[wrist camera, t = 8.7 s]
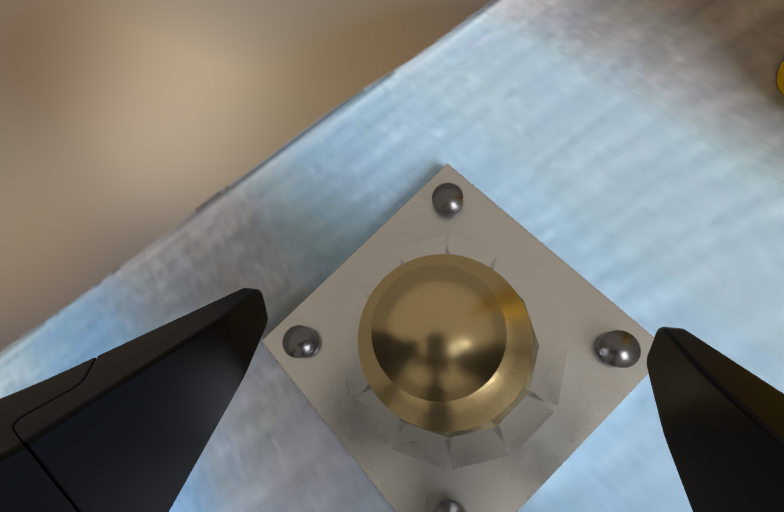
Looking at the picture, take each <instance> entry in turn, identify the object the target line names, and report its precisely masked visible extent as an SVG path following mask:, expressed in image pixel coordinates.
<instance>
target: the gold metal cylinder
mask: <svg viewBox="0 0 784 512" xmlns="http://www.w3.org/2000/svg"><path fill="white" fill-rule="evenodd" d="M358 352H359V358H360V363H361V366H362V370H363V373H364V375H365V377H366V379H367V382H368V384H369V385H370V387H371V389H372V390H373V392H374V393H375V395H376V396H377V397H378V398H379V400H380V401H381V402H382V403H383V404H384V405H385V406H386V407H387V408H388V409H389V410H390V411H392V412H393V413H394V414H396V415H397V416H398V417H400V418H401V419H403V420H405V421H407V422H409V423H411V424H413V425H416V426H418V427H421V428H425V429H429V430H433V431H442V432H451V431H461V430H467V429H471V428H474V427H477V426H480V425H482V424H484V423H486V422H488V421H490V420H492V419H493V418H495V417H496V416H497V415H499V414H500V413H502V412H503V411H504V410H505V409H506V408H507V407H508V406H509V405H510V404H511V403H512V402H513V400H514V399H515V398H516V397H517V395H518V394H519V392H520V390H521V389H522V387H523V385H524V383H525V381H526V378H527V376H528V374H529V370H530V366H531V362H532V354H533V335H532V329H531V324H530V320H529V317H528V314H527V311H526V309H525V307H524V304H523V303H522V301H521V299H520V297H519V296H518V294H517V293H516V291H515V290H514V289H513V288H512V286H511V285H510V284H509V283H508V282H507V281H506V280H505V279H504V278H503V277H502V276H501V275H500V274H498V273H497V272H496V271H494V270H493V269H492V268H490V267H488V266H486V265H485V264H483V263H481V262H478V261H476V260H474V259H471V258H467V257H464V256H459V255H452V254H435V255H427V256H423V257H419V258H416V259H413V260H410V261H408V262H406V263H404V264H402V265H400V266H399V267H397V268H396V269H394V270H393V271H391V272H390V273H389V274H388V275H387V276H386V277H384V278H383V279H382V280H381V282H380V283H379V284H378V285H377V286H376V287H375V289H374V290H373V292H372V293H371V295H370V296H369V298H368V300H367V302H366V304H365V306H364V309H363V312H362V315H361V319H360V323H359V329H358Z"/></svg>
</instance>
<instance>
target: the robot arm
mask: <svg viewBox="0 0 784 512" xmlns="http://www.w3.org/2000/svg"><path fill="white" fill-rule="evenodd" d="M267 319H268V316H267V311H266V307H265V303H264V299H263V295H262V292H261V291H260V290H258V289H251V288H243V289H241V290H238V291H236V292H234V293H232V294H230V295H228V296H226V297H223V298H221V299H219V300H217V301H215V302H213V303H211V304H208V305H206V306H204V307H202V308H200V309H198V310H196V311H193V312H191V313H189V314H187V315H185V316H183V317H181V318H178V319H176V320H174V321H172V322H170V323H168V324H166V325H163V326H161V327H159V328H157V329H155V330H153V331H151V332H148V333H146V334H144V335H142V336H140V337H138V338H136V339H133V340H131V341H129V342H127V343H125V344H123V345H121V346H118V347H116V348H114V349H112V350H110V351H108V352H106V353H103V354H101V355H99V356H98V357H97V359H96V358H92V359H90V360H88V361H86V362H84V363H82V364H80V365H78V366H75V367H73V368H71V369H69V370H67V371H64V372H62V373H60V374H58V375H55V376H53V377H51V378H49V379H47V380H44V381H42V382H39V383H37V384H35V385H32V386H30V387H28V388H25V389H23V390H21V391H18V392H16V393H13V394H11V395H9V396H6V397H4V398H1V399H0V512H169V510H170V508H171V507H172V505H173V503H174V501H175V500H176V498H177V496H178V494H179V492H180V491H181V489H182V487H183V485H184V483H185V482H186V480H187V478H188V476H189V475H190V473H191V471H192V469H193V467H194V466H195V464H196V462H197V460H198V458H199V457H200V455H201V453H202V451H203V450H204V448H205V446H206V444H207V442H208V441H209V439H210V437H211V435H212V433H213V432H214V430H215V428H216V426H217V425H218V423H219V421H220V419H221V417H222V416H223V414H224V412H225V410H226V408H227V407H228V405H229V403H230V401H231V400H232V398H233V396H234V394H235V392H236V391H237V389H238V387H239V385H240V383H241V381H242V379H243V378H244V376H245V373H246V371H247V369H248V367H249V365H250V362H251V360H252V358H253V355H254V353H255V351H256V348H257V346H258V344H259V341H260V339H261V336H262V334H263V332H264V329H265V327H266V324H267ZM647 369H648V373H649V377H650V381H651V385H652V389H653V393H654V397H655V401H656V405H657V409H658V413H659V417H660V421H661V425H662V428H663V432H664V435H665V438H666V441H667V444H668V447H669V449H670V452H671V455H672V457H673V460H674V463H675V465H676V468H677V471H678V473H679V476H680V479H681V481H682V484H683V486H684V489H685V492H686V494H687V497H688V500H689V502H690V505H691V508H692V510H693V512H784V394H783V393H782V392H780V391H778V390H777V389H775V388H774V387H772V386H771V385H769V384H768V383H766V382H765V381H763V380H762V379H760V378H759V377H757V376H755V375H754V374H752V373H751V372H749V371H748V370H746V369H745V368H743V367H742V366H740V365H739V364H737V363H735V362H734V361H732V360H731V359H729V358H728V357H726V356H725V355H723V354H722V353H720V352H719V351H717V350H715V349H714V348H712V347H711V346H709V345H708V344H706V343H705V342H703V341H702V340H700V339H699V338H697V337H695V336H694V335H692V334H691V333H689V332H688V331H686V330H684V329H681V328H672V327H661V328H659V329H658V331H657V332H656V335H655V337H654V340H653V342H652V345H651V348H650V350H649V353H648V355H647Z"/></svg>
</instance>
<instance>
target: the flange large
mask: <svg viewBox="0 0 784 512" xmlns="http://www.w3.org/2000/svg"><path fill="white" fill-rule="evenodd" d="M435 254H452V255H459V256H464V257H467V258H471V259H474V260H476V261H478V262H481V263H483V264H485V265H486V266H488V267H490V268H492V269H493V270H494V271H496V272H497V273H498V274H500V275H501V276H502V277H503V278H504V279H505V280H506V281H507V282H508V283H509V284H510V285H511V286H512V288H513V289H514V290H515V291H516V293H517V294H518V296H519V297H520V299H521V301H522V303H523V304H524V307H525V309H526V311H527V314H528V317H529V320H530V324H531V329H532V335H533V354H532V362H531V366H530V370H529V374H528V376H527V378H526V381H525V383H524V385H523V387H522V389H521V390H520V392H519V394H518V395H517V397H516V398H515V399H514V400H513V402H512V403H511V404H510V405H509V406H508V407H507V408H506V409H505V410H504V411H503V412H502V413H500V414H499V415H497V416H496V417H495V418H493V419H492V420H490V421H488V422H486V423H484V424H482V425H480V426H477V427H474V428H471V429H467V430H461V431H451V432H442V431H433V430H429V429H425V428H421V427H418V426H416V425H413V424H411V423H409V422H407V421H405V420H403V419H401V418H400V417H398V416H397V415H396V414H394V413H393V412H392V411H390V410H389V409H388V408H387V407H386V406H385V405H384V404H383V403H382V402H381V401H380V400H379V398H378V397H377V396H376V395H375V393H374V392H373V390H372V389H371V387H370V385H369V384H368V382H367V379H366V377H365V375H364V373H363V370H362V366H361V363H360V358H359V352H358V329H359V323H360V319H361V315H362V312H363V309H364V306H365V304H366V302H367V300H368V298H369V296H370V295H371V293H372V292H373V290H374V289H375V287H376V286H377V285H378V284H379V283H380V282H381V280H382V279H383V278H384V277H386V276H387V275H388V274H389V273H390V272H391V271H393V270H394V269H396V268H397V267H399V266H400V265H402V264H404V263H406V262H408V261H410V260H413V259H416V258H419V257H423V256H427V255H435ZM653 340H654V337H653V336H652V335H651V334H650V333H649V332H647V331H646V330H645V329H644V328H643V327H641V326H640V325H639V324H638V323H637V322H635V321H634V320H633V319H632V318H631V317H630V316H628V315H627V314H626V313H625V312H624V311H622V310H621V309H620V308H619V307H618V306H616V305H615V304H614V303H613V302H612V301H610V300H609V299H608V298H607V297H606V296H605V295H603V294H602V293H601V292H600V291H599V290H597V289H596V288H595V287H594V286H593V285H591V284H590V283H589V282H588V281H587V280H585V279H584V278H583V277H582V276H581V275H580V274H578V273H577V272H576V271H575V270H574V269H572V268H571V267H570V266H569V265H568V264H566V263H565V262H564V261H563V260H562V259H561V258H559V257H558V256H557V255H556V254H555V253H553V252H552V251H551V250H550V249H549V248H547V247H546V246H545V245H544V244H543V243H541V242H540V241H539V240H538V239H537V238H536V237H534V236H533V235H532V234H531V233H530V232H528V231H527V230H526V229H525V228H524V227H522V226H521V225H520V224H519V223H518V222H517V221H515V220H514V219H513V218H512V217H511V216H509V215H508V214H507V213H506V212H505V211H503V210H502V209H501V208H500V207H499V206H497V205H496V204H495V203H494V202H493V201H492V200H490V199H489V198H488V197H487V196H486V195H484V194H483V193H482V192H481V191H480V190H478V189H477V188H476V187H475V186H474V185H473V184H471V183H470V182H469V181H468V180H467V179H465V178H464V177H463V176H462V175H461V174H459V173H458V172H457V171H456V170H455V169H453V168H452V167H451V166H450V165H449V164H448V163H447V164H446V165H445V166H444V167H443V168H442V169H441V170H440V171H439V172H438V173H437V174H436V175H435V176H434V177H433V178H432V179H431V180H430V181H429V182H428V183H427V184H426V185H424V186H423V187H422V188H421V189H420V190H419V191H418V192H417V193H416V194H415V195H414V196H413V197H412V198H411V199H410V200H409V201H408V202H407V203H406V204H405V205H404V206H403V207H401V208H400V209H399V210H398V211H397V212H396V213H395V214H394V215H393V216H392V217H391V218H390V219H389V220H388V221H387V222H386V223H385V224H384V225H383V226H382V227H381V228H380V229H378V230H377V231H376V232H375V233H374V234H373V235H372V236H371V237H370V238H369V239H368V240H367V241H366V242H365V243H364V244H363V245H362V246H361V247H360V248H359V249H358V250H357V251H355V252H354V253H353V254H352V255H351V256H350V257H349V258H348V259H347V260H346V261H345V262H344V263H343V264H342V265H341V266H340V267H339V268H338V269H337V270H336V271H335V272H334V273H332V274H331V275H330V276H329V277H328V278H327V279H326V280H325V281H324V282H323V283H322V284H321V285H320V286H319V287H318V288H317V289H316V290H315V291H314V292H313V293H312V294H311V295H309V296H308V297H307V298H306V299H305V300H304V301H303V302H302V303H301V304H300V305H299V306H298V307H297V308H296V309H295V310H294V311H293V312H292V313H291V314H290V315H289V316H288V317H286V318H285V319H284V320H283V321H282V322H281V323H280V324H279V325H278V326H277V327H276V328H275V329H274V330H273V331H272V332H271V333H270V334H269V335H268V336H267V337H266V338H265V339H264V340H262V342H263V343H264V345H265V346H266V347H267V348H268V350H269V351H270V352H271V353H272V355H273V356H274V357H275V358H276V360H277V361H278V362H279V364H280V365H281V366H282V367H283V369H284V370H285V371H286V372H287V374H288V375H289V376H290V378H291V379H292V380H293V381H294V383H295V384H296V385H297V386H298V388H299V389H300V390H301V392H302V393H303V394H304V395H305V397H306V398H307V399H308V400H309V402H310V403H311V404H312V406H313V407H314V408H315V409H316V411H317V412H318V413H319V414H320V416H321V417H322V418H323V420H324V421H325V422H326V423H327V425H328V426H329V427H330V428H331V430H332V431H333V432H334V434H335V435H336V436H337V437H338V439H339V440H340V441H341V442H342V444H343V445H344V446H345V448H346V449H347V450H348V451H349V453H350V454H351V455H352V456H353V458H354V459H355V460H356V462H357V463H358V464H359V465H360V467H361V468H362V469H363V470H364V472H365V473H366V474H367V476H368V477H369V478H370V479H371V481H372V482H373V483H374V484H375V486H376V487H377V488H378V490H379V491H380V492H381V493H382V495H383V496H384V497H385V498H386V500H387V501H388V502H389V504H390V505H391V506H392V507H393V509H394V510H395V511H396V512H517V511H518V510H519V509H520V508H521V507H522V506H523V505H524V504H525V503H526V502H527V501H528V500H529V499H530V498H531V496H532V495H533V494H534V493H535V492H536V491H537V490H538V489H539V488H540V487H541V486H542V485H543V484H544V483H545V482H546V481H547V480H548V479H549V477H550V476H551V475H552V474H553V473H554V472H555V471H556V470H557V469H558V468H559V467H560V466H561V465H562V464H563V463H564V462H565V461H566V460H567V458H568V457H569V456H570V455H571V454H572V453H573V452H574V451H575V450H576V449H577V448H578V447H579V446H580V445H581V444H582V443H583V442H584V441H585V440H586V438H587V437H588V436H589V435H590V434H591V433H592V432H593V431H594V430H595V429H596V428H597V427H598V426H599V425H600V424H601V423H602V422H603V421H604V419H605V418H606V417H607V416H608V415H609V414H610V413H611V412H612V411H613V410H614V409H615V408H616V407H617V406H618V405H619V404H620V403H621V402H622V400H623V399H624V398H625V397H626V396H627V395H628V394H629V393H630V392H631V391H632V390H633V389H634V388H635V387H636V386H637V385H638V384H639V383H640V382H641V380H642V379H643V378H644V377H645V376H646V375H647V374H648V369H647V355H648V353H649V350H650V348H651V345H652V342H653Z"/></svg>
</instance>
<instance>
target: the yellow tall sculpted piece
mask: <svg viewBox="0 0 784 512" xmlns="http://www.w3.org/2000/svg"><path fill="white" fill-rule="evenodd" d="M777 86H778V88H779V90H780V91H781V93H782V94H783V96H784V61H783V62H782V63H781V65H780V67H779V70H778V74H777Z"/></svg>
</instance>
